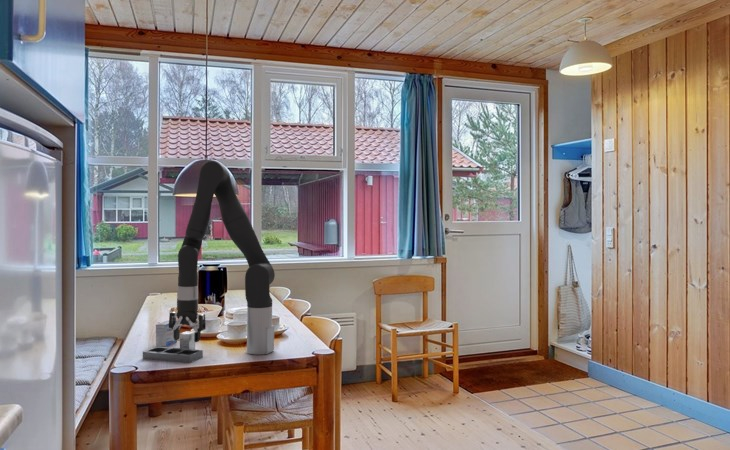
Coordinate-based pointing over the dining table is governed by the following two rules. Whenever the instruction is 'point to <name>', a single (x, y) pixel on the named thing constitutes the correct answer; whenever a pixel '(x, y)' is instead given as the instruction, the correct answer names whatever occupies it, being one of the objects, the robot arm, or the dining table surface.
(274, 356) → the dining table surface
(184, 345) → the light grey block
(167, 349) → the grey compartment tray
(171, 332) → the medicine box
